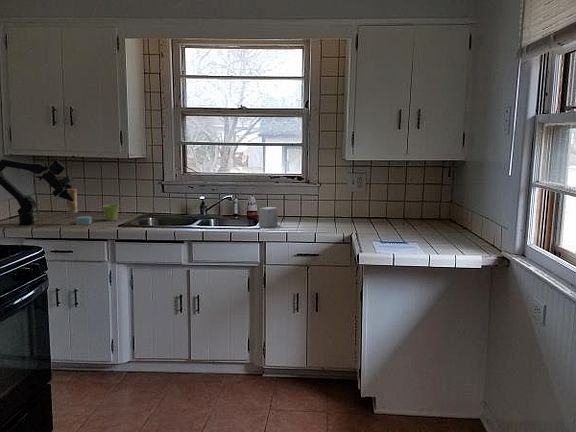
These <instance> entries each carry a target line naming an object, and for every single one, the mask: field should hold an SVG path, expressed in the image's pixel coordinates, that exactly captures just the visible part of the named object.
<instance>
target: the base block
mask: <svg viewBox="0 0 576 432" xmlns="http://www.w3.org/2000/svg"><path fill="white" fill-rule="evenodd" d="M92 221H93V220H92V215H91V216H90V215H88V216H86V215H85V216H76V218H75V225H76V226H85V225H87V226H89V224H90V225H91V224H92Z"/></svg>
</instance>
